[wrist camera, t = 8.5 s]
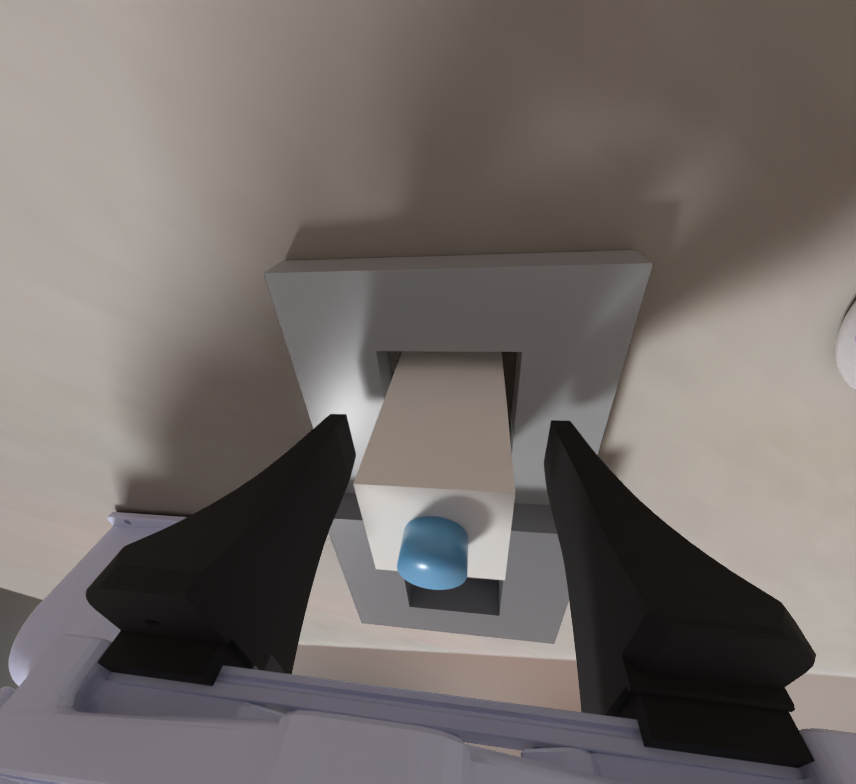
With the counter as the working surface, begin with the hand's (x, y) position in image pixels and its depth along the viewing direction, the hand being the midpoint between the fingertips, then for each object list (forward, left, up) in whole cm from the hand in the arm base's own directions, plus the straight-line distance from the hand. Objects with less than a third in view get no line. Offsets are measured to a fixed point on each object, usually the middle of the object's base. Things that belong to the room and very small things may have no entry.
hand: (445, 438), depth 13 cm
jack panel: (0, -6, -3) cm, 6 cm away
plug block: (0, 0, -3) cm, 3 cm away
